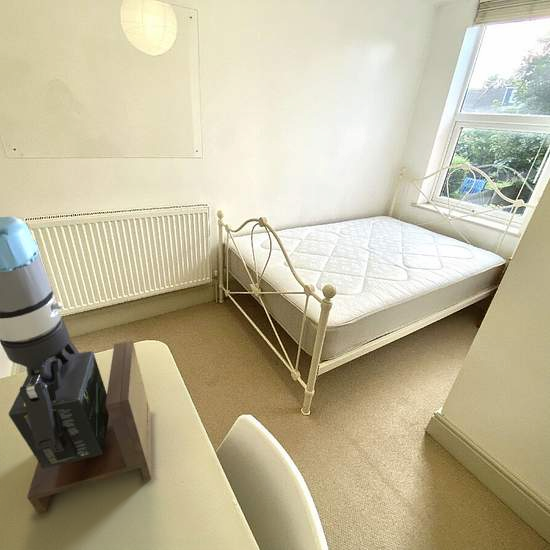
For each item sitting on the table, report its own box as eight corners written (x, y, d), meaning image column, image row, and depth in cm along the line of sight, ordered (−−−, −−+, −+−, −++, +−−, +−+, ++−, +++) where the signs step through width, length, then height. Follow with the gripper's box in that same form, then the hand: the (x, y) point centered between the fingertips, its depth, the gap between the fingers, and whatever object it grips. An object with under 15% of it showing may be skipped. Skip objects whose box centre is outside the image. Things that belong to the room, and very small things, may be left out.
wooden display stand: (39, 515, 52) (-18, 433, 41) (59, 440, 64) (19, 360, 53) (151, 480, 58) (128, 399, 47) (151, 417, 69) (132, 340, 58)
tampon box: (59, 414, 59) (32, 358, 52) (111, 403, 62) (93, 348, 54) (40, 472, 50) (4, 413, 43) (103, 456, 53) (79, 398, 45)
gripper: (38, 383, 35) (87, 485, 46) (77, 282, 54) (106, 371, 65) (-44, 399, 33) (28, 503, 44) (27, 288, 52) (65, 379, 63)
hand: (75, 424), depth 54 cm, fingers closed on tampon box, 11 cm apart
